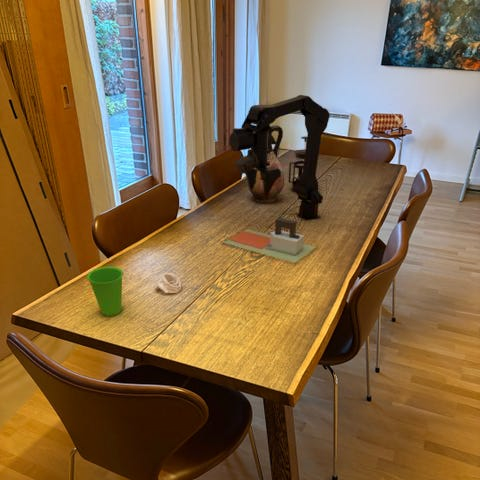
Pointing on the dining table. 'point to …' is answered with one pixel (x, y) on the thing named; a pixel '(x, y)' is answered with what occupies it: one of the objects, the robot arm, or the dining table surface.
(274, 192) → the ceramic jug
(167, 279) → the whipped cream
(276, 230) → the iron
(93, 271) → the cup
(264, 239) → the ironing mat
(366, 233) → the dining table surface
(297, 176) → the french press
